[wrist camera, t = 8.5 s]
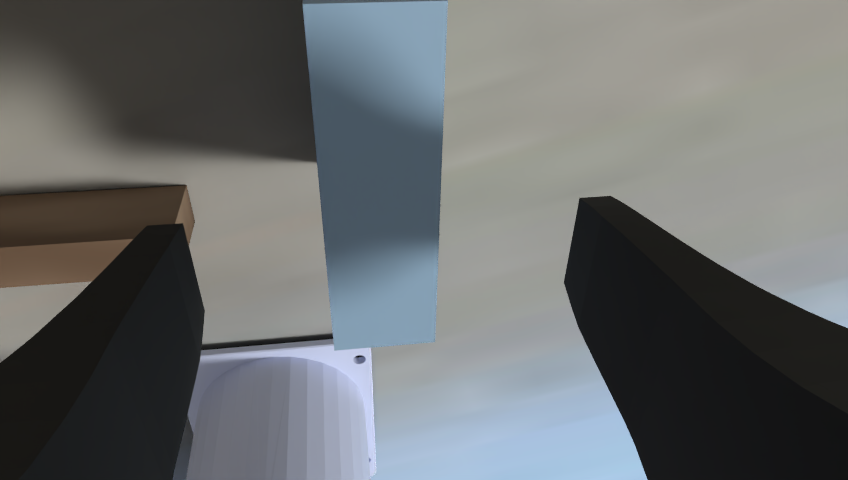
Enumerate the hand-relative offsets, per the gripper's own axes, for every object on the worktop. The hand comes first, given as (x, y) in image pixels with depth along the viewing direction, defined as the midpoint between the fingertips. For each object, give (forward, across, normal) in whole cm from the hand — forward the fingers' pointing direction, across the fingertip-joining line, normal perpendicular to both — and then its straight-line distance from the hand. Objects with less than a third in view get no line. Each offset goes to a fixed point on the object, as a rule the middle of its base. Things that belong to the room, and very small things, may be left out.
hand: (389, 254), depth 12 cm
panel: (+10, 0, 0) cm, 10 cm away
